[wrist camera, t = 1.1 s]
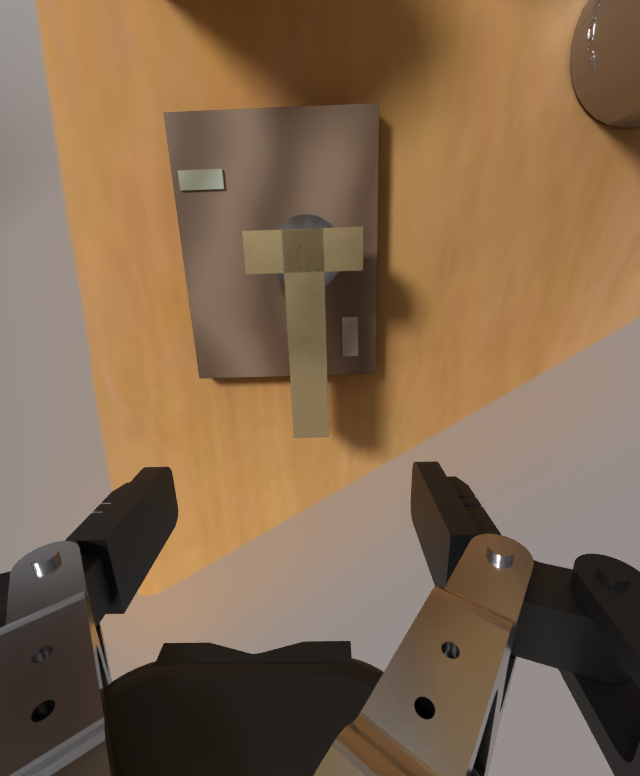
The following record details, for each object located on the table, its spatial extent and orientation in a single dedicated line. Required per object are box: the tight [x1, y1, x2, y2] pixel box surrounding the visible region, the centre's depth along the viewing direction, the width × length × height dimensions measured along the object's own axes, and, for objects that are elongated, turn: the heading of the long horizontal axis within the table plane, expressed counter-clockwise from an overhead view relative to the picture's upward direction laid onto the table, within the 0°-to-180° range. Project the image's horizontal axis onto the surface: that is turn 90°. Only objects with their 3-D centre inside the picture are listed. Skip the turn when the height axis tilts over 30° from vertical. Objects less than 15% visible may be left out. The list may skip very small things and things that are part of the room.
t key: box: [242, 214, 363, 438], centre depth 26 cm, size 7×14×5 cm, turn 2°
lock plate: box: [164, 103, 379, 378], centre depth 27 cm, size 14×18×2 cm
